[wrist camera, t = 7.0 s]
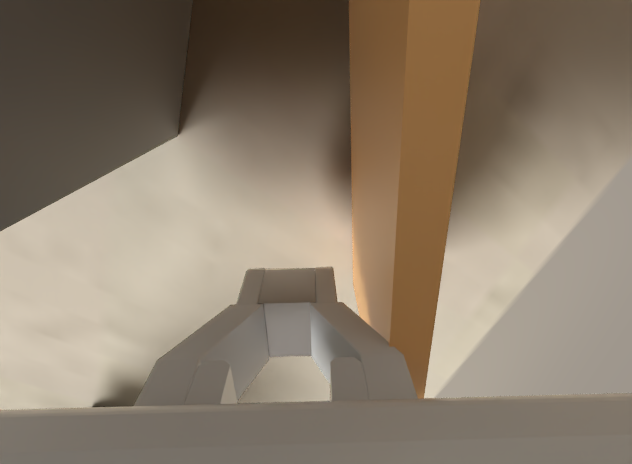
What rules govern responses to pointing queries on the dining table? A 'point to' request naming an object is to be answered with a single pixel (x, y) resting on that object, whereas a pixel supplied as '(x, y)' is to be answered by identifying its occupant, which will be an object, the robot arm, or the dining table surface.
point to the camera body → (84, 92)
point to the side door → (405, 160)
